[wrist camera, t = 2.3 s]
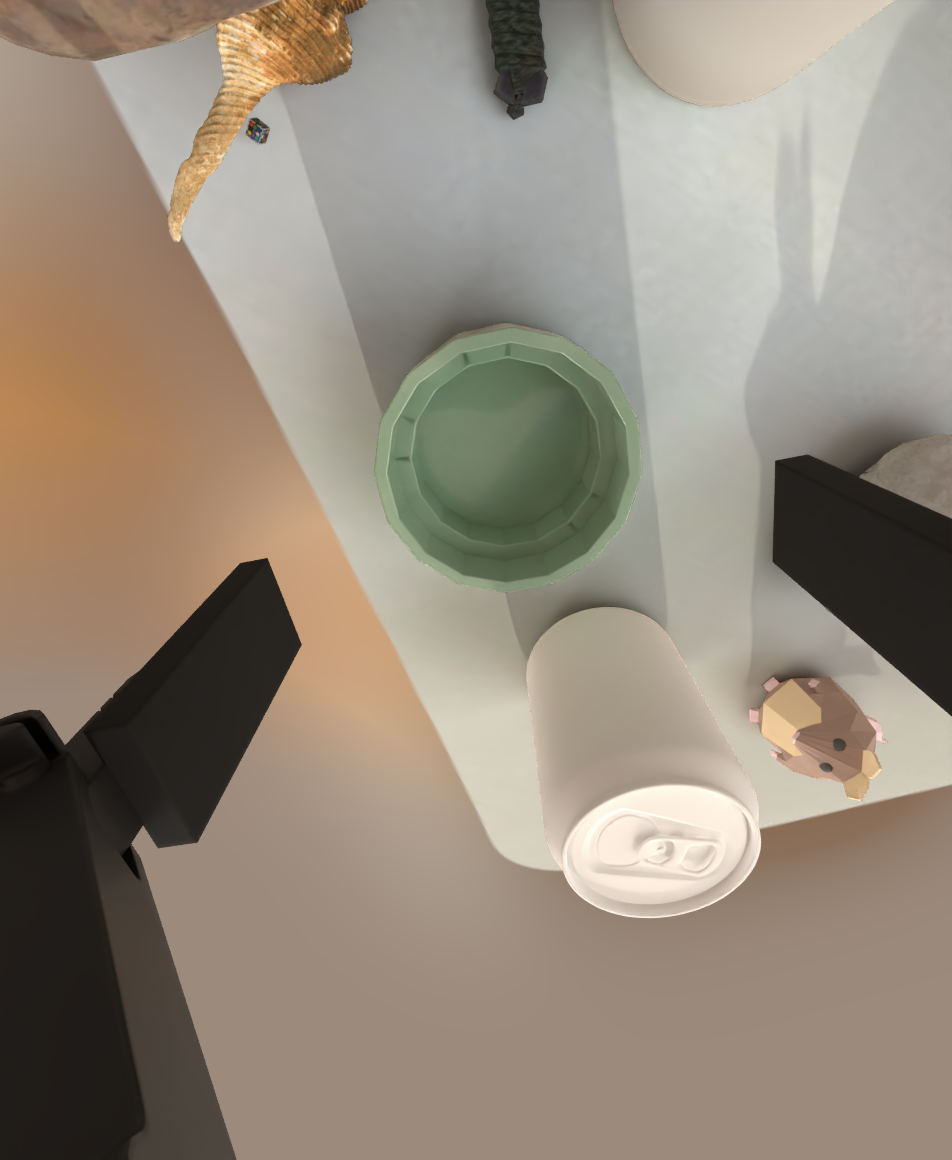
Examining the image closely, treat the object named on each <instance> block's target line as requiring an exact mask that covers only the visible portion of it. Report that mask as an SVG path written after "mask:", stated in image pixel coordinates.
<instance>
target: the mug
mask: <svg viewBox="0 0 952 1160" xmlns="http://www.w3.org/2000/svg"><path fill="white" fill-rule="evenodd" d="M893 1H894V0H613V5H614V10H615V14H616V17H617V21H618V24H619V28H620V31H621V33H622V35H623V38H624V40H625V43H626V45H627V47H628V49H629V51H630V52H631V54H632V56H633V57H634V59H635V61H636V62H637V64H638V65H639V66H640V68H641V69H642V70H643V71H644V73H645V74H646V75H647V76H648V77H649V78H650V79H651V80H652V81H653V82H654V83H655V84H656V85H657V86H659V87H660V88H662V89H663V90H664V91H666V92H667V93H669V94H670V95H672V96H674V97H677V98H679V99H681V100H683V101H686V102H690V103H694V104H698V105H706V106H724V105H734V104H738V103H742V102H746V101H749V100H752V99H754V98H757V97H759V96H762V95H764V94H766V93H768V92H769V91H771V90H773V89H775V88H777V87H778V86H780V85H782V84H783V83H785V82H787V81H788V80H789V79H791V78H792V77H793V76H795V75H796V74H797V73H799V72H800V71H802V70H803V69H804V68H806V67H807V66H808V65H810V64H811V63H812V62H813V61H815V60H816V59H817V58H818V57H820V56H821V55H822V54H823V53H825V52H826V51H827V50H828V49H830V48H831V47H832V46H833V45H835V44H836V43H837V42H839V41H840V40H841V39H843V38H844V37H845V36H847V35H848V34H849V33H851V32H852V31H853V30H855V29H856V28H858V27H859V26H860V25H862V24H863V23H864V22H866V21H867V20H868V19H870V18H871V17H873V16H874V15H875V14H877V13H878V12H879V11H881V10H882V9H883V8H885V7H886V6H888V5H889V4H890V3H892V2H893Z"/></svg>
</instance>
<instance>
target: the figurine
mask: <svg viewBox="0 0 952 1160" xmlns="http://www.w3.org/2000/svg"><path fill="white" fill-rule="evenodd" d="M366 4H367V0H281V1H278V2H275V3H273V4H270V5H267V6H265V7H262V8H259V9H256V10H253V11H249V12H246V13H243V14H240V15H237V16H234V17H232V18H229V19H226V20H224V21H221V22H219V23H217V35H216V38H217V45H218V49H219V51H220V53H221V61H222V70H223V76H224V80H223V85H222V86H221V88H220V89H219V92H218V95H217V97H216V98H215V100H214V103H213V107H212V109H211V110H210V111H209V115H208V118H207V119H206V120H205V121H204V124H203V126H202V127H200V128H199V130H198V131H197V134H196V136H195V139H194V141H193V150H192V154H191V156H190V158H189V159H187V160H185V161H184V162H183V163H182V164H181V166H180V168H179V171H178V174H177V177H176V180H175V185H174V190H173V194H172V196H171V197H172V198H171V203H170V207H171V210H170V211H169V215H168V216H167V217H168V224H169V232H170V234H171V236H172V238H173V240H174V241H175V242H179V241H180V239H181V234H182V226H183V223H184V220H185V217H186V215H187V213H188V211H189V209H190V206H191V204H192V203H193V201H194V199H195V197H196V195H197V194H198V192H199V190H200V189H201V187H202V185H203V183H204V182H205V180H206V179H207V178H208V177H209V176H210V175H211V174H212V173H213V172H214V171H215V170H216V169H217V168H218V166H219V165H220V164H221V162H222V160H223V158H224V156H225V154H226V152H227V150H228V148H229V147H230V145H231V143H232V141H233V139H234V138H235V137H236V136H237V134H238V131H239V129H240V128H241V126H242V124H243V122H244V120H245V119H246V118H247V115H248V113H249V112H251V111H252V109H253V107H254V106H256V104H257V103H258V102H259V101H260V98H261V97H263V96H265V94H266V92H267V91H271V88H275V87H276V85H281V84H282V83H284V84H286V82H289V83H290V84H293V82H294V83H298V84H300V85H301V84H302V83H304V84H305V85H307V84H310V85H313V84H314V83H315V84H318V83H320V84H322V83H323V82H324V81H325V82H327V81H328V80H329V81H330V80H331V79H332V78H336V77H338V76H339V75H343V74H344V72H348V71H350V65H351V64H352V59H351V55H352V52H353V47H352V45H351V44H352V39H351V37H350V36H349V32H348V28H347V25H346V23H345V20H344V17H345V16H346V15H347V14H350V13H353V12H354V10H359V8H362V7H363V5H366ZM269 130H270V128H269V127H268V126H267V125H265V124H264V123H263V122H262V121H260V120H259V119H258V118H250V119H249V123H248V127H247V130H246V135H247V136H249V137H250V138H251V139H252V140H254V141H255V142H256V143H257V144H264V143H266V141H267V137H268V134H269Z"/></svg>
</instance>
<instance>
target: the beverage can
mask: <svg viewBox="0 0 952 1160" xmlns="http://www.w3.org/2000/svg"><path fill="white" fill-rule="evenodd" d="M526 679H527V689H528V697H529V706H530V714H531V723H532V731H533V740H534V748H535V756H536V765H537V773H538V782H539V790H540V799H541V807H542V816H543V824H544V832H545V837H546V841H547V844H548V847H549V849H550V851H551V853H552V855H553V857H554V859H555V860H556V862H557V863H558V864H559V866H560V867H561V868H562V869H563V872H564V875H565V877H566V879H567V881H568V883H569V884H570V886H571V887H572V888H573V890H574V891H575V892H576V893H577V894H578V895H579V896H580V897H582V898H583V899H584V900H586V901H587V902H589V903H590V904H592V905H594V906H596V907H598V908H600V909H603V910H605V911H608V912H611V913H615V914H619V915H624V916H629V917H639V918H658V917H668V916H675V915H679V914H684V913H688V912H691V911H695V910H698V909H700V908H703V907H705V906H708V905H710V904H712V903H714V902H716V901H718V900H720V899H721V898H723V897H725V896H726V895H728V894H729V893H730V892H732V891H733V890H734V889H735V888H737V887H738V886H739V885H740V884H741V883H742V882H743V881H744V880H745V879H746V877H747V876H748V875H749V874H750V872H751V871H752V869H753V868H754V866H755V864H756V862H757V859H758V856H759V853H760V848H761V837H760V830H759V827H758V819H759V809H758V801H757V797H756V793H755V790H754V788H753V785H752V783H751V782H750V780H749V778H748V776H747V774H746V772H745V771H744V769H743V767H742V765H741V763H740V762H739V760H738V758H737V756H736V755H735V753H734V751H733V749H732V747H731V746H730V744H729V742H728V740H727V739H726V737H725V735H724V733H723V731H722V730H721V728H720V726H719V724H718V723H717V721H716V719H715V717H714V715H713V714H712V712H711V710H710V708H709V706H708V705H707V703H706V701H705V699H704V698H703V696H702V694H701V692H700V690H699V689H698V687H697V685H696V683H695V682H694V680H693V678H692V676H691V674H690V673H689V671H688V669H687V667H686V665H685V664H684V662H683V660H682V658H681V657H680V655H679V653H678V651H677V649H676V648H675V646H674V644H673V642H672V641H671V639H670V637H669V636H668V634H667V633H666V632H665V630H664V629H663V628H662V627H661V626H660V625H659V624H657V623H656V622H655V621H654V620H652V619H650V618H649V617H647V616H645V615H643V614H641V613H638V612H636V611H633V610H629V609H625V608H618V607H598V608H592V609H587V610H583V611H580V612H577V613H574V614H572V615H569V616H567V617H565V618H563V619H562V620H560V621H558V622H557V623H556V624H554V625H553V626H552V627H550V628H549V629H548V630H547V631H546V632H545V633H544V634H543V635H542V636H541V637H540V639H539V640H538V641H537V643H536V644H535V646H534V648H533V650H532V652H531V654H530V656H529V660H528V663H527V670H526Z"/></svg>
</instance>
